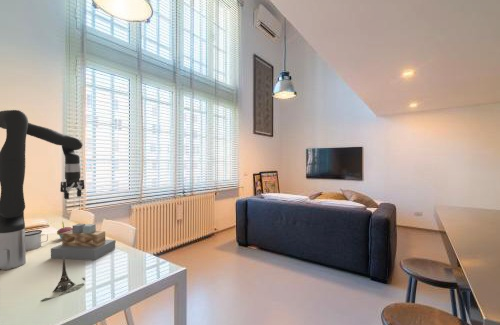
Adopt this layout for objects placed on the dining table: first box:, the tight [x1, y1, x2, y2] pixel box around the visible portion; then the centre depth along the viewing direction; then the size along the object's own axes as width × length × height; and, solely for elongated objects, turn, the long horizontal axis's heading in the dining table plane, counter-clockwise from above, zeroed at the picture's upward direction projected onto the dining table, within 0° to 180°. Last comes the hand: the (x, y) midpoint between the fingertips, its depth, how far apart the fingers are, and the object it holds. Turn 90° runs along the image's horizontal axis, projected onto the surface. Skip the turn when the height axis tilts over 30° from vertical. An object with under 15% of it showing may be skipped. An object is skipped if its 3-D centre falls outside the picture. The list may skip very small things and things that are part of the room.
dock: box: [50, 239, 117, 261], centre depth 126 cm, size 16×25×5 cm, turn 84°
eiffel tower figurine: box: [39, 259, 86, 303], centre depth 91 cm, size 15×10×13 cm
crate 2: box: [83, 223, 97, 234], centre depth 125 cm, size 4×4×4 cm
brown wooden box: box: [61, 230, 106, 247], centre depth 125 cm, size 21×6×6 cm, turn 83°
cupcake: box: [56, 220, 73, 240], centre depth 150 cm, size 9×8×12 cm
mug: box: [25, 229, 49, 251], centre depth 135 cm, size 12×10×9 cm
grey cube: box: [71, 223, 86, 233], centre depth 126 cm, size 4×4×4 cm
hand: (73, 197), depth 140 cm, fingers open, 8 cm apart
